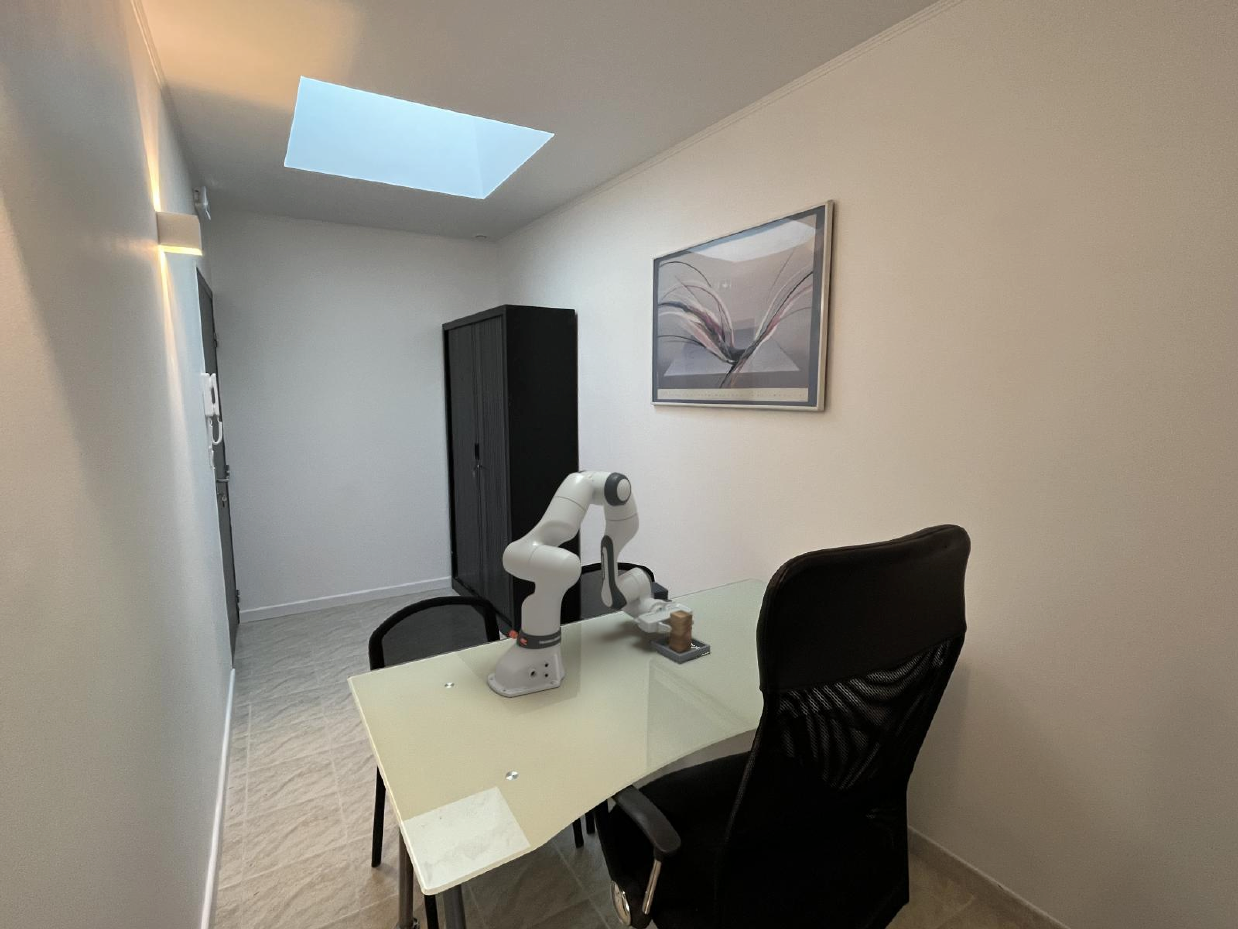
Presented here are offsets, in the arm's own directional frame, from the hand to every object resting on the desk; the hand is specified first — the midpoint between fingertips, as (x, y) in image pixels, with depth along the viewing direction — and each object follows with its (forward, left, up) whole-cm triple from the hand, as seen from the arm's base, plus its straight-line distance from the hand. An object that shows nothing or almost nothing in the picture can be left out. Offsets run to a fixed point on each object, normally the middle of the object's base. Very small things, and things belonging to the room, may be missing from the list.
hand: (682, 626), depth 192 cm
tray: (0, 0, -8) cm, 9 cm away
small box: (+15, +30, -9) cm, 35 cm away
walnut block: (0, 0, -8) cm, 8 cm away
